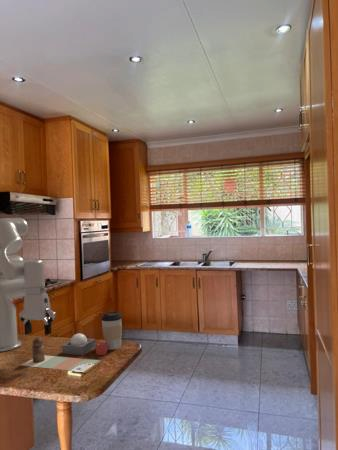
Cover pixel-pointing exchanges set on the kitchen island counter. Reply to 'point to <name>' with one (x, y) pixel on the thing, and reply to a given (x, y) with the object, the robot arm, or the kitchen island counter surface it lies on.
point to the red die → (101, 348)
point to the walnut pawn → (38, 350)
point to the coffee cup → (112, 329)
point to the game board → (61, 363)
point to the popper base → (78, 347)
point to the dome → (78, 339)
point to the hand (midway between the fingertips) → (38, 333)
